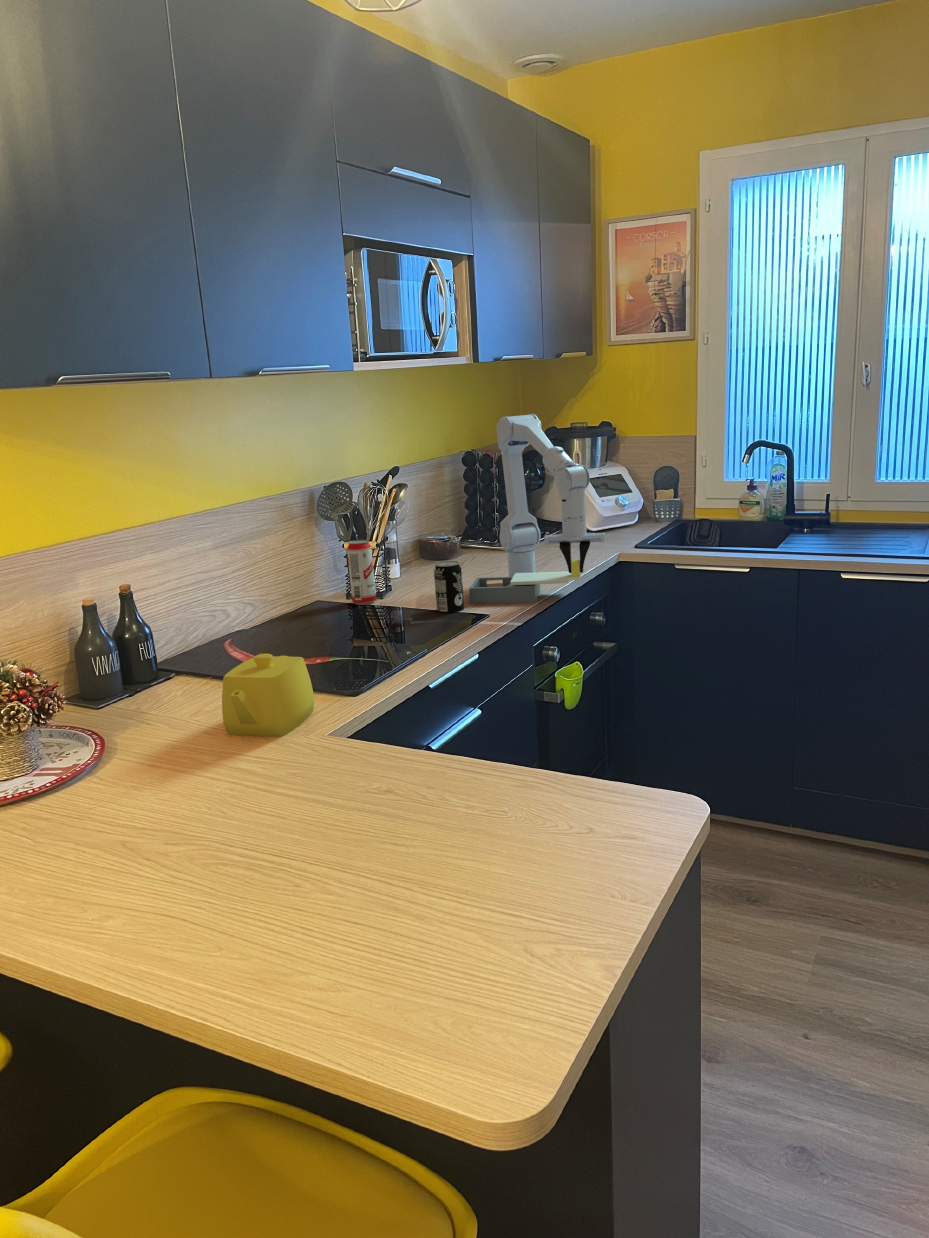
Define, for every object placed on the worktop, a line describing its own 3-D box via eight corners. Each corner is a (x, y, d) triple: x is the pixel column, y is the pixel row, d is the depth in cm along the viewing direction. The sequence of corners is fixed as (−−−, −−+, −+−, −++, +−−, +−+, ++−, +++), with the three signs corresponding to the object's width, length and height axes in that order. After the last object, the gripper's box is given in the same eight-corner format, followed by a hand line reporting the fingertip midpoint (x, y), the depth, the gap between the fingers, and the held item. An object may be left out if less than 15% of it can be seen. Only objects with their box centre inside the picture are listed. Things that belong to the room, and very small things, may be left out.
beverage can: (465, 608, 220) (462, 559, 217) (463, 614, 214) (459, 565, 211) (439, 609, 221) (435, 561, 218) (435, 616, 215) (431, 566, 212)
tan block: (487, 594, 231) (486, 580, 230) (503, 592, 230) (502, 579, 230) (487, 597, 227) (486, 583, 226) (503, 596, 227) (502, 582, 226)
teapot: (275, 749, 141) (265, 677, 138) (204, 746, 144) (194, 675, 141) (326, 704, 159) (319, 640, 156) (263, 702, 163) (255, 639, 160)
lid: (515, 576, 229) (514, 559, 228) (581, 574, 226) (580, 556, 225) (510, 585, 219) (509, 567, 218) (579, 582, 216) (578, 564, 215)
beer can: (348, 605, 232) (341, 543, 228) (359, 599, 238) (353, 539, 234) (369, 605, 230) (363, 543, 226) (380, 600, 235) (375, 539, 231)
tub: (478, 594, 233) (477, 577, 232) (540, 593, 230) (539, 575, 229) (470, 606, 222) (469, 588, 220) (535, 604, 219) (534, 586, 217)
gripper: (542, 520, 215) (544, 576, 218) (603, 517, 212) (605, 574, 216) (544, 516, 222) (547, 570, 225) (604, 513, 219) (606, 568, 222)
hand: (576, 572), depth 221 cm, fingers closed on lid, 2 cm apart
